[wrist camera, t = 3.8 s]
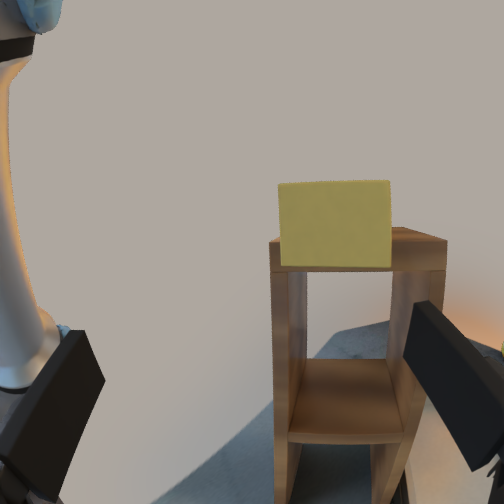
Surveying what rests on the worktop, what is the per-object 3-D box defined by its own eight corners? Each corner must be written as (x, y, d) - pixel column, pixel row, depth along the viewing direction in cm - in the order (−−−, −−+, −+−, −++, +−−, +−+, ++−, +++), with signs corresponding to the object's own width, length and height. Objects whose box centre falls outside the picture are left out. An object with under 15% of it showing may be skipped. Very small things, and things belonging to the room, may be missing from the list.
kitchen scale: (515, 525, 12) (539, 496, 11) (395, 556, 16) (412, 533, 15) (466, 410, 36) (474, 382, 36) (383, 418, 40) (389, 390, 40)
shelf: (381, 520, 21) (447, 240, 17) (274, 518, 24) (268, 241, 20) (377, 445, 35) (403, 227, 31) (294, 443, 38) (295, 228, 34)
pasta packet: (391, 268, 10) (390, 179, 10) (280, 266, 11) (277, 183, 11) (377, 228, 30) (376, 198, 30) (339, 228, 32) (338, 199, 31)
